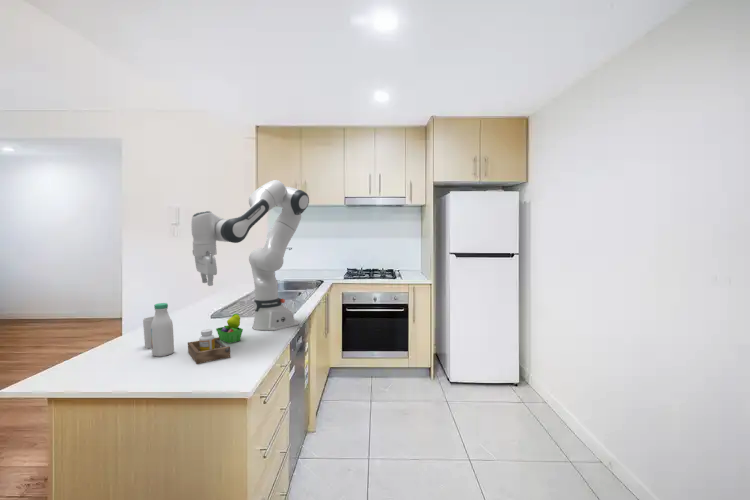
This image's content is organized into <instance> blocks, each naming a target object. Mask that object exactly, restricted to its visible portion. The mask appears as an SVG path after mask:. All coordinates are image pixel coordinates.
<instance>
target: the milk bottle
mask: <svg viewBox="0 0 750 500" xmlns="http://www.w3.org/2000/svg"><path fill="white" fill-rule="evenodd" d="M168 307H169V305H168V303H167V302H161V303H160V302H159V303H156V304H154V311H155V312H154V318H153V320H152V324H151V343H152V348H151V354H152V356H153V357H165V356H169V355H172V354H174V352H175V343H174V341H175V339H174V337H175V336H174V324H173V320H172V318H171V316H170V315H169V311H168Z"/></svg>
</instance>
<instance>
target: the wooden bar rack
mask: <svg viewBox="0 0 750 500" xmlns="http://www.w3.org/2000/svg"><path fill="white" fill-rule="evenodd" d="M214 340H215V349H211V350H206V351H200V341H199V340H195V341H188V342H187V353H188V354H189V355H190V357H191V358H192V359H193V361H194V362H195V364H196V365H198V364H203V363H208V362H213V361H218V360H223V359H228V358H231V346H229V345H228V346H226V345H225V344H224V343H223V342H221V340H220V338H219V336H218V337H214Z"/></svg>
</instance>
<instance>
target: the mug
mask: <svg viewBox="0 0 750 500" xmlns="http://www.w3.org/2000/svg"><path fill="white" fill-rule="evenodd" d="M154 316H155V315H154ZM154 316H153V315H152V316H147V317H144V318H143V319H142V322H143V323H142V324H143V336H144V337H143V338H144V348H146V349H152V343H151V324H152V320H153V318H154Z"/></svg>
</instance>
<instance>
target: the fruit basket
mask: <svg viewBox="0 0 750 500" xmlns="http://www.w3.org/2000/svg"><path fill="white" fill-rule="evenodd" d="M226 323H227V325H224V326H221V327H217V328H215V330H216V332H217V335H218V337H219V338H220V341H223V342H225V343H228V344H233V343H236V342H240V341H241V338H242V334H243V330H244V328H241V327H240V324H241V316H240V314H238V313H233V314H232V316H230V317H229V318H228V319H227V321H226Z"/></svg>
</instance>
